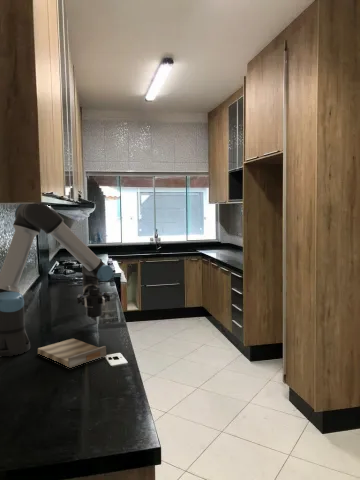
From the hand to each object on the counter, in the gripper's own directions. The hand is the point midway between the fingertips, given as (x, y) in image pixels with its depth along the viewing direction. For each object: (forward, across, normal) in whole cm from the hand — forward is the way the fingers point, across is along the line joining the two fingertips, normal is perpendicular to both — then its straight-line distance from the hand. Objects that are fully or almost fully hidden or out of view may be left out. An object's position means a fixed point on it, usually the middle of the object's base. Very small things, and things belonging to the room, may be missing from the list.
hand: (95, 303), depth 161 cm
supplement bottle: (-5, 0, -7) cm, 8 cm away
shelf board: (+9, +10, -18) cm, 23 cm away
